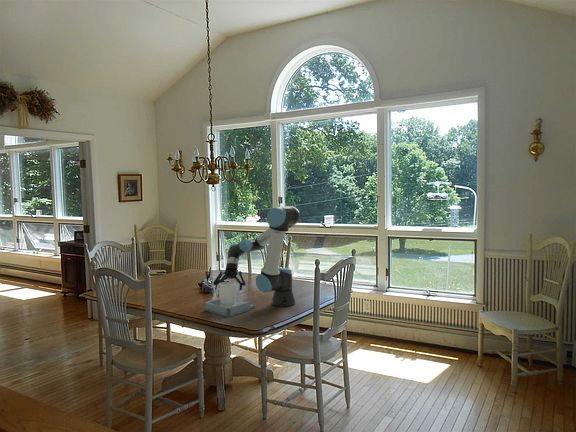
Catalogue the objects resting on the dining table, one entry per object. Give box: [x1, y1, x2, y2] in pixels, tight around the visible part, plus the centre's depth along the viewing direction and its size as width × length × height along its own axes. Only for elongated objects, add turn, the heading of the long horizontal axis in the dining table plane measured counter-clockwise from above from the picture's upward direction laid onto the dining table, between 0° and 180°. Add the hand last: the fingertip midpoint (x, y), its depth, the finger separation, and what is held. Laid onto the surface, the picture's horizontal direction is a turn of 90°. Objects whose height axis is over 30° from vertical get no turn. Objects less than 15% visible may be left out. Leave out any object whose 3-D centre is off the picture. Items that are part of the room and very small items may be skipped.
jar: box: [218, 281, 237, 307], centre depth 270 cm, size 11×10×15 cm
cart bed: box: [203, 297, 255, 318], centre depth 271 cm, size 22×23×5 cm
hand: (227, 294), depth 269 cm, fingers open, 13 cm apart
